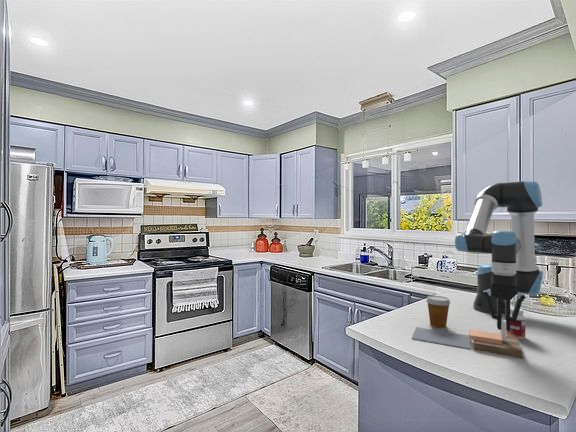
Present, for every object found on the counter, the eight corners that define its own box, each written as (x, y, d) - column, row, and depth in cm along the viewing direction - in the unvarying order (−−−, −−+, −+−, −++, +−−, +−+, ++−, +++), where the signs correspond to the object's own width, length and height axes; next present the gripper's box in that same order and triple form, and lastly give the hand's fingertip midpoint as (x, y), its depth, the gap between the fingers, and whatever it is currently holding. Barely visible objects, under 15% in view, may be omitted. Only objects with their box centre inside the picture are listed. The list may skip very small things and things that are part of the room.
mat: (416, 328, 137) (416, 327, 137) (470, 336, 128) (470, 335, 128) (411, 339, 125) (411, 338, 125) (470, 349, 115) (470, 348, 115)
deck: (473, 337, 127) (473, 330, 127) (516, 344, 120) (516, 337, 120) (474, 350, 115) (474, 343, 115) (522, 358, 108) (522, 351, 108)
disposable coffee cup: (422, 325, 140) (423, 298, 140) (430, 320, 147) (430, 294, 147) (446, 331, 134) (446, 302, 134) (453, 325, 141) (453, 298, 141)
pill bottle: (503, 335, 129) (503, 307, 129) (511, 332, 132) (511, 305, 132) (520, 340, 124) (520, 312, 124) (528, 337, 127) (528, 309, 127)
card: (469, 333, 125) (469, 329, 125) (499, 337, 120) (499, 333, 120) (469, 339, 118) (469, 335, 118) (502, 344, 114) (502, 340, 114)
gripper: (483, 273, 116) (483, 339, 116) (527, 277, 110) (527, 346, 110) (482, 270, 123) (481, 332, 123) (523, 273, 117) (523, 338, 117)
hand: (503, 338), depth 116 cm, fingers closed
